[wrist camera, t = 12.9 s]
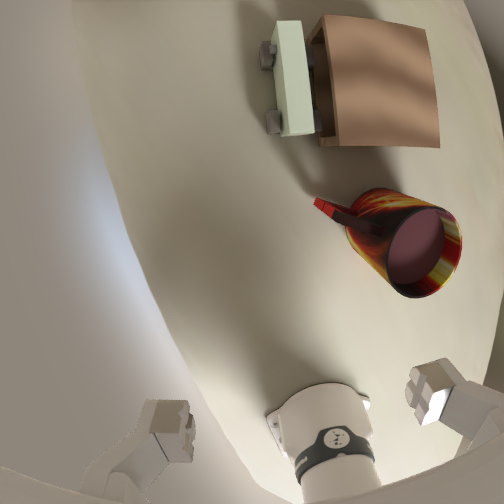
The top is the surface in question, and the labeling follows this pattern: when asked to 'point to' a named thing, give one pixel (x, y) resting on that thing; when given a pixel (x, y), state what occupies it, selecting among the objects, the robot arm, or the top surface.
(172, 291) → the top surface
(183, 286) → the top surface
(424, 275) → the mug
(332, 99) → the cabinet
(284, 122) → the door
